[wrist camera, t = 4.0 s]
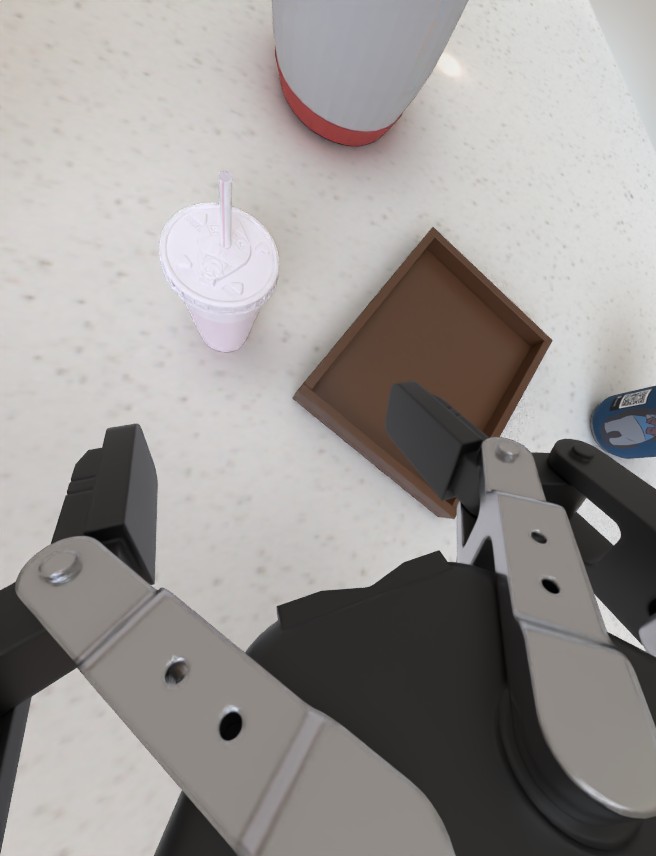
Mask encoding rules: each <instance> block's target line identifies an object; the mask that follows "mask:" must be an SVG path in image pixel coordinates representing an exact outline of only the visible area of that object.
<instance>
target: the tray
mask: <svg viewBox="0 0 656 856" xmlns="http://www.w3.org/2000/svg"><path fill="white" fill-rule="evenodd" d="M551 342H552V339H551V338H550V337H548V336H547V335H546V334H545V333H544V332H543V331H542V330H541V329H540V328H539V327H538V326H537V325H536V324H535V323H534V322H533V321H532V320H531V319H530V318H528V317H527V316H526V315H525V314H524V313H523V312H522V311H521V310H520V309H519V308H518V307H517V306H516V305H515V304H514V303H513V302H512V301H511V300H510V299H508V298H507V297H506V296H505V295H504V294H503V293H502V292H501V291H500V290H499V289H498V288H497V287H496V286H495V285H494V284H493V283H492V282H491V281H490V280H488V279H487V278H486V277H485V276H484V275H483V274H482V273H481V272H480V271H479V270H478V269H477V268H476V267H475V266H474V265H473V264H472V263H471V262H470V261H468V260H467V259H466V258H465V257H464V256H463V255H462V254H461V253H460V252H459V251H458V250H457V249H456V248H455V247H454V246H453V245H452V244H451V243H450V242H448V241H447V240H446V239H445V238H444V237H443V236H442V235H441V234H440V233H439V232H438V231H437V230H436V229H435V228H434V227H432V228H431V230H430V231H429V232H428V233H427V235H426V236H425V237H424V238H423V239H422V241H421V242H420V243H419V244H418V245H417V247H416V248H415V249H414V250H413V251H412V253H411V254H410V255H409V256H408V258H407V259H406V260H405V261H404V262H403V264H402V265H401V266H400V267H399V268H398V270H397V271H396V272H395V273H394V274H393V276H392V277H391V278H390V279H389V281H388V282H387V283H386V284H385V285H384V287H383V288H382V289H381V290H380V291H379V293H378V294H377V295H376V296H375V298H374V299H373V300H372V301H371V302H370V304H369V305H368V306H367V307H366V308H365V310H364V311H363V312H362V313H361V314H360V316H359V317H358V318H357V319H356V321H355V322H354V323H353V324H352V325H351V327H350V328H349V329H348V330H347V331H346V333H345V334H344V335H343V336H342V337H341V339H340V340H339V341H338V342H337V344H336V345H335V346H334V347H333V348H332V350H331V351H330V352H329V353H328V354H327V356H326V357H325V358H324V359H323V360H322V362H321V363H320V364H319V365H318V367H317V368H316V369H315V370H314V371H313V373H312V374H311V375H310V376H309V377H308V379H307V380H306V381H305V382H304V384H303V385H302V386H301V387H300V388H299V390H298V391H297V392H296V394H295V395H294V396H293V399H294V400H295V401H297V402H298V403H299V404H300V405H302V406H303V407H304V408H305V409H306V410H308V411H309V412H310V413H311V414H313V415H314V416H315V417H316V418H317V419H319V420H320V421H321V422H322V423H324V424H325V425H326V426H327V427H329V428H330V429H331V430H332V431H333V432H335V433H336V434H337V435H338V436H340V437H341V438H342V439H343V440H344V441H346V442H347V443H348V444H349V445H351V446H352V447H353V448H354V449H356V450H357V451H358V452H359V453H360V454H362V455H363V456H364V457H365V458H367V459H368V460H369V461H370V462H371V463H373V464H374V465H375V466H376V467H378V468H379V469H380V470H381V471H382V472H384V473H385V474H386V475H387V476H389V477H390V478H391V479H392V480H394V481H395V482H396V483H397V484H398V485H400V486H401V487H402V488H403V489H405V490H406V491H407V492H408V493H409V494H411V495H412V496H413V497H414V498H416V499H417V500H418V501H419V502H421V503H422V504H423V505H424V506H425V507H427V508H428V509H429V510H430V511H432V512H433V513H434V514H435V515H436V516H438V517H445V518H452V519H455V517H456V515H457V505H458V503H459V500H458V499H457V497H455V498H451V499H448V500H444V501H441V499H440V498H439V497H438V496H437V495H436V493H435V492H434V491H433V490H432V488H431V487H430V486H429V485H428V484H427V482H426V481H425V480H424V479H423V478H422V476H421V475H420V474H419V473H418V471H417V470H416V469H415V468H414V467H413V465H412V464H411V463H410V462H409V460H408V459H407V458H406V457H405V456H404V454H403V453H402V452H401V451H400V450H399V448H398V447H397V446H396V445H395V443H394V442H393V441H392V440H391V439H390V437H389V436H388V434H387V432H386V428H385V417H386V412H387V406H388V400H389V394H390V389H391V387H392V385H393V384H396V383H402V382H408V381H416V382H417V383H419V384H420V385H421V386H422V387H423V388H424V389H426V390H427V391H428V392H430V393H432V394H434V395H436V396H438V397H441V398H443V399H444V400H445V401H446V402H447V403H449V404H450V405H451V406H452V408H453V409H454V408H455V409H456V410H457V411H458V412H459V413H461V416H462V415H463V416H464V417H465V418H466V419H468V420H469V421H470V422H471V423H472V424H474V425H475V426H476V427H477V428H478V429H480V430H481V431H482V432H483V433H484V434H486V435H487V436H488V437H489V438H492V437H500V435H501V433H502V432H503V430H504V428H505V426H506V424H507V422H508V421H509V419H510V417H511V415H512V413H513V412H514V410H515V408H516V406H517V404H518V402H519V401H520V399H521V397H522V395H523V393H524V391H525V390H526V388H527V386H528V384H529V382H530V381H531V379H532V377H533V375H534V373H535V371H536V370H537V368H538V366H539V364H540V362H541V361H542V359H543V357H544V355H545V353H546V351H547V350H548V348H549V346H550V344H551Z"/></svg>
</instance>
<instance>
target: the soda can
mask: <svg viewBox="0 0 656 856" xmlns="http://www.w3.org/2000/svg"><path fill="white" fill-rule="evenodd" d="M591 430H592V434H593V437H594V439H595V441H596V442H597V444H598V445H599V446H600V447H601V448H602V449H603V450H605V451H607V452H609V453H611V454H613V455H616V456H618V457H621V458H627V459H630V458H644V457H656V386H652V387H648V388H644V389H639V390H635V391H631V392H627V393H622V394H618V395H614V396H611V397H608V398H607V399H605V400H604V401H603V402H602V403H601V404H600V405H599V406H598V407H597V408H596V409H595V410H594V411H593V413H592V416H591Z"/></svg>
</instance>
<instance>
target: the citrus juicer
mask: <svg viewBox="0 0 656 856" xmlns="http://www.w3.org/2000/svg"><path fill="white" fill-rule="evenodd" d="M467 2H468V0H272V12H273V29H274V38H275V56H276V61H277V67H278V72H279V76H280V81H281V85H282V89H283V93H284V95H285V98H286V100H287V102H288V104H289V106H290V107H291V109H292V110H293V112H294V113H295V114H296V115H297V116H298V118H299V119H300V120H301V121H302V122H303V123H304V124H305V125H307V126H308V127H309V128H310V129H311V130H313V131H314V132H316V133H317V134H319V135H320V136H322V137H324V138H326V139H328V140H331V141H333V142H336V143H340V144H344V145H350V146H358V145H366V144H369V143H372V142H374V141H375V140H377V139H378V138H380V137H381V136H382V135H383V134H384V133H385V132H387V131H388V130H389V129H390V128H391V127H392V126H393V125H394V124H395V123H396V121H397V120H398V119H399V118H400V117H401V115H402V113H403V111H404V110H405V109H406V107H407V106H408V105H409V104H410V103H411V101H412V100H413V99H414V98H415V97H416V95H417V94H418V92H419V91H420V89H421V88H422V86H423V85H424V83H425V82H426V80H427V79H428V77H429V76H430V74H431V72H432V71H433V69H434V67H435V65H436V63H437V62H438V60H439V58H440V56H441V54H442V52H443V51H444V49H445V47H446V45H447V43H448V41H449V39H450V37H451V35H452V33H453V30H454V28H455V26H456V24H457V22H458V20H459V18H460V16H461V14H462V12H463V10H464V8H465V6H466V4H467Z"/></svg>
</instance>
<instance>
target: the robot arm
mask: <svg viewBox="0 0 656 856" xmlns="http://www.w3.org/2000/svg"><path fill="white" fill-rule="evenodd" d="M385 428H386V432H387V434H388V436H389V437H390V439H391V440H392V441H393V442H394V443H395V445H396V446H397V447H398V448H399V450H400V451H401V452H402V453H403V454H404V456H405V457H406V458H407V459H408V460H409V462H410V463H411V464H412V465H413V467H414V468H415V469H416V470H417V471H418V473H419V474H420V475H421V476H422V478H423V479H424V480H425V481H426V482H427V484H428V485H429V486H430V487H431V488H432V490H433V491H434V492H435V493H436V495H437V496H438V497H439V498H440V499H441V501H444V500H448V499H451V498H455V497H457V499H458V500H459V503H458V505H457V559H456V562H447V560H446V559H445V558H444V556H443V555H442V553H441V552H440V551H436V552H433V553H430V554H427V555H424V556H421V557H418V558H415V559H412V560H410V561H407V562H404V563H403V564H401V565H400V566H398V567H397V568H396V569H394V570H393V571H392V572H390V573H389V574H387V575H386V576H385V577H383V578H382V579H381V580H379V581H378V582H376V583H375V584H374V585H372V586H370V587H366V588H353V589H340V590H327V591H320V592H317V593H314V594H311V595H308V596H305V597H302V598H300V599H297V600H294V601H291V602H288V603H285V604H282V605H279V606H277V615H278V621H277V622H275V623H274V624H273V625H271V626H270V627H268V628H267V629H266V630H265V631H264V632H263V633H262V634H261V635H259V637H258V638H257V639H256V640H255V641H254V642H253V643H252V644H251V645H250V647H249V648H248V649H247V651H246V652H245V653H244V652H243V651H242V650H241V649H240V648H238V647H237V646H236V645H235V644H233V643H232V642H231V641H230V640H229V639H227V638H226V637H225V636H224V635H223V634H221V633H220V632H219V631H218V630H216V629H215V628H214V627H213V626H212V625H210V624H209V623H208V622H207V621H206V620H204V619H203V618H202V617H201V616H200V615H198V614H197V613H196V612H195V611H193V610H192V609H191V608H190V607H189V606H187V605H186V604H185V603H184V602H183V601H181V600H180V599H179V598H178V597H176V596H175V595H174V594H173V593H171V592H170V591H168V590H167V589H165V588H160V589H159V590H156V589H155V588H153V587H152V586H151V585H153V584H155V553H156V521H157V489H158V482H157V474H156V469H155V466H154V462H153V460H152V457H151V454H150V451H149V448H148V446H147V443H146V440H145V437H144V434H143V432H142V429H141V427H140V425H139V424H131V425H125V426H119V427H112V428H108V429H107V430H106V434H105V438H104V442H103V447H102V448H98V449H92V450H88V451H87V452H86V453H85V455H84V456H83V457H82V458H81V459H80V460H79V461H78V462H77V463H76V464H75V468H74V471H73V474H72V477H71V482H70V484H69V487H68V490H67V495H66V497H65V500H64V503H63V506H62V509H61V513H60V516H59V519H58V522H57V526H56V529H55V532H54V535H53V538H52V542H51V545H49V546H47V547H46V548H44V549H42V550H41V551H40V552H38V553H37V554H36V555H34V556H33V557H32V558H31V559H30V560H29V561H28V562H27V563H26V564H25V566H24V567H23V568H22V570H21V571H20V573H19V575H18V577H17V580H16V582H15V583H13V584H11V585H10V586H8V587H6V588H4V589H2V590H0V853H1V848H2V843H3V838H4V833H5V828H6V823H7V818H8V812H9V807H10V802H11V797H12V792H13V787H14V782H15V777H16V772H17V767H18V762H19V757H20V752H21V747H22V742H23V737H24V732H25V727H26V722H27V717H28V712H29V707H30V702H31V697H32V696H33V695H35V694H36V693H38V692H39V691H41V690H43V689H44V688H46V687H47V686H49V685H50V684H52V683H53V682H55V681H57V680H58V679H60V678H61V677H63V676H64V675H66V674H67V673H69V672H71V671H72V670H74V669H75V668H78V669H79V670H80V672H81V673H82V674H83V675H84V677H85V678H86V679H87V680H88V681H89V682H90V684H91V685H92V686H93V687H94V688H95V689H96V691H97V692H98V693H99V694H100V695H101V696H102V698H103V699H104V700H105V701H106V702H107V703H108V705H109V706H110V707H111V708H112V709H113V710H114V711H115V713H116V714H117V715H118V716H119V717H120V718H121V720H122V721H123V722H124V723H125V724H126V725H127V727H128V728H129V729H130V730H131V731H132V732H133V734H134V735H135V736H136V737H137V738H138V739H139V741H140V742H141V743H142V744H143V745H144V746H145V748H146V749H147V750H148V751H149V752H150V753H151V754H152V756H153V757H154V758H155V759H156V760H157V761H158V763H159V764H160V765H161V766H162V767H163V768H164V770H165V771H166V772H167V773H168V774H169V775H170V777H171V778H172V779H173V780H174V781H175V782H176V784H177V785H178V786H179V787H180V788H181V789H182V791H181V794H180V796H179V798H178V801H177V803H176V805H175V808H174V810H173V812H172V815H171V817H170V819H169V822H168V824H167V826H166V829H165V831H164V833H163V836H162V838H161V840H160V843H159V845H158V847H157V850H156V852H155V854H154V856H656V489H655V488H653V487H652V486H650V485H649V484H648V483H646V482H645V481H643V480H642V479H640V478H639V477H637V476H636V475H635V474H633V473H632V472H630V471H629V470H627V469H626V468H625V467H623V466H622V465H620V464H619V463H617V462H616V461H615V460H613V459H612V458H610V457H609V456H607V455H606V454H605V453H603V452H602V451H600V450H599V449H597V448H596V447H594V446H592V445H590V444H587V443H585V442H582V441H578V440H573V439H562V440H559V441H557V442H556V443H555V445H554V447H553V449H552V450H551V452H550V453H531V452H530V451H529V450H528V449H527V448H526V447H524V446H523V445H521V444H520V443H518V442H516V441H513V440H510V439H507V438H502V437H492V438H489V437H488V436H487V435H486V434H484V433H483V432H482V431H481V430H480V429H478V428H477V427H476V426H475V425H474V424H472V423H471V422H470V421H469V420H468V419H466V418H465V417H464V416H463V415H462V416H461V413H459V412H458V411H457V410H456V409H455V408H454V409H453V408H452V406H451V405H450V404H449V403H447V402H446V401H445V400H444V399H443V398H441V397H438V396H436V395H434V394H432V393H430V392H428V391H427V390H426V389H424V388H423V387H422V386H421V385H420V384H419V383H417V382H416V381H408V382H402V383H396V384H393V385H392V387H391V389H390V394H389V400H388V406H387V412H386V417H385ZM586 498H588V499H589V500H590V501H591V502H592V503H594V504H595V505H596V506H597V507H598V508H600V509H601V510H602V511H603V512H604V513H605V514H607V515H608V516H609V517H610V518H611V519H613V520H614V521H615V522H616V523H617V525H618V526H619V528H620V531H621V538H620V540H619V541H618V542H617V543H616V544H615V545H612V544H611V543H610V542H609V541H608V540H607V539H606V538H605V537H604V536H602V535H601V534H600V533H599V532H598V531H597V530H596V529H595V528H594V527H592V526H591V525H590V524H589V523H588V522H587V521H586V520H585V519H584V518H583V517H581V516H580V515H579V514H578V513H577V512H576V511H577V510H578V509H579V507H580V506H581V504H582V503H583V502H584V500H585V499H586ZM594 594H595V595H596V596H597V597H598V598H599V599H600V600H601V601H602V603H603V604H604V605H605V606H606V607H607V608H608V609H609V610H610V611H611V612H612V613H613V614H614V615H615V616H616V618H617V619H618V620H619V621H620V622H621V623H622V624H623V625H624V626H625V627H626V628H627V629H628V630H629V631H630V632H631V634H632V635H633V636H634V637H635V638H636V639H637V640H638V641H639V642H640V643H641V644H642V645H643V646H644V648H645V650H646V651H643V650H641V649H639V648H637V647H635V646H634V645H632V644H630V643H628V642H626V641H624V640H622V639H620V638H618V637H616V636H614V635H612V634H610V633H608V632H607V630H606V627H605V625H604V622H603V619H602V616H601V613H600V610H599V607H598V604H597V601H596V598H595V595H594Z"/></svg>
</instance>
